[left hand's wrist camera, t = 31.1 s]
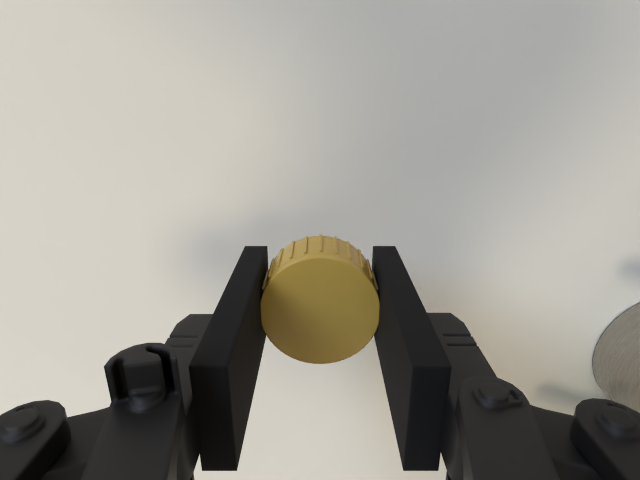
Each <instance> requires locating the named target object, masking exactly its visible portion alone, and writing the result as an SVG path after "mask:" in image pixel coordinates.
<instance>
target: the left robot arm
mask: <svg viewBox="0 0 640 480" xmlns="http://www.w3.org/2000/svg"><path fill="white" fill-rule="evenodd" d="M267 270H268V253H267V246H245V248H244V250H243V252H242V254H241V256H240V258H239V260H238V263H237V265H236V267H235V269H234V271H233V273H232V275H231V277H230V279H229V282H228V284H227V286H226V288H225V290H224V292H223V294H222V296H221V299H220V301H219V303H218V305H217V307H216V309H215V311H214V313H213V314H190V315H188V316H187V317H186V318H184V319H183V320H182V321H180V322H179V323H178V324H177V325H176V326H175V328H174V329H173V331H172V333H171V334H170V338H168V339H167V341H166V343H165V344H162V343H145V344H140V345H135V346H132V347H130V348H127V349H125V350H122V351H120V352H119V353H117V354H116V355H115V356H113V357H112V358H110V360H109V361H108V362H107V363H106V365H105V366H104V369H105V374H106V378H107V383H108V388H109V392H110V397H111V404H110V407H108V408H105V409H101V410H98V411H94V412H89V413H85V414H81V415H76V416H72V417H67V415H66V412H65V408H64V407H63V406H62V405H61V404H60V403H59V402H54V401H49V400H44V401H34V402H30V403H27V404H23V405H21V406H17V407H15V408H13V409H11V410H9V411H8V412H6V413H4V414H2V415H0V480H194V474H193V472H194V469H195V466H196V463H197V460H198V457H199V454H200V458H201V466H202V471H237V467H238V463H239V458H240V454H241V449H242V444H243V440H244V435H245V431H246V426H247V421H248V417H249V412H250V408H251V403H252V398H253V394H254V389H255V385H256V380H257V375H258V371H259V366H260V361H261V357H262V352H263V348H264V343H265V338H266V333H265V331H264V329H263V327H262V321H261V297H262V294H263V291H262V286H263V283H264V279H265V276H266V273H267ZM372 271H373V272H374V276H375V279H376V283H377V286H378V296H379V300H380V308H379V324H378V327H377V330H376V332H375V334H374V337H375V342H376V346H377V351H378V356H379V360H380V365H381V369H382V374H383V379H384V383H385V388H386V393H387V397H388V402H389V406H390V411H391V416H392V420H393V425H394V429H395V434H396V439H397V443H398V448H399V452H400V457H401V462H402V466H403V471H438V468H439V460H440V453H441V454H442V457H443V460H444V463H445V466H446V469H447V474H446V480H640V413H639V412H637V411H635V410H633V409H631V408H629V407H627V406H625V405H623V404H620V403H617V402H613V401H610V400H605V399H594V398H593V399H588V400H583V401H581V402H580V403H579V404H578V405H577V406H576V409H575V413H574V416H572V415H568V414H563V413H559V412H554V411H550V410H545V409H542V408H538V407H535V406H532V405H530V404H529V401H528V400H527V398H526V397H525V395H524V394H523V392H521V391H520V390H519V389H518V388H516V387H515V386H514V385H512V384H510V383H508V382H506V381H504V380H502V379H499V378H497V377H496V375H495V373H494V372H493V370H492V368H491V367H490V365H489V363H488V362H487V360H486V358H485V357H484V355H483V354H482V352H481V350H480V349H479V347H478V346H477V344H476V342H475V340H474V339H473V337H471V334H470V332H469V331H468V329H467V327H466V326H465V324H464V323H463V322H462V321H461V320H459V319H458V318H457V317H455V316H454V315H452V314H451V313H426V311H425V309H424V306H423V304H422V302H421V300H420V298H419V296H418V294H417V292H416V289H415V287H414V285H413V283H412V281H411V279H410V277H409V275H408V273H407V270H406V268H405V266H404V264H403V262H402V260H401V258H400V256H399V253H398V251H397V249H396V247H395V246H373V259H372Z"/></svg>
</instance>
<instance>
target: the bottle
mask: <svg viewBox="0 0 640 480" xmlns="http://www.w3.org/2000/svg"><path fill="white" fill-rule="evenodd" d="M593 371H594V375H595V378H596V380H597V382H598V384H599V386H600V387H601V388H602V389H603V390H604V392H605V393H606V394H607V395H608V396H609V397H610V398H611V399H612V400H613V401H614V402H617V403H620V404H623V405H625V406H627V407H629V408H631V409H633V410H635V411H637V412H639V413H640V303H639V304H637V305H635V306H633V307H631V308H630V309H628V310H627V311H625V312H624V313H622V314H621V315H620V316H619V317H617V318H616V319H615V320H614V321H613V322H612V323H611V324H610V325H609V326H608V328H607V329H606V330H605V331H604V333H603V334H602V336H601V337H600V339H599V341H598V343H597V345H596V348H595V351H594V356H593Z"/></svg>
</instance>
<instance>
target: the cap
mask: <svg viewBox="0 0 640 480" xmlns="http://www.w3.org/2000/svg"><path fill="white" fill-rule="evenodd" d="M262 291H263V294H262V297H261V321H262V327H263V329H264V331H265V333H266V335H267V337H268V338H269V340H270V341H271V342H272V343H273V344H274V345H275V346H276V347H277V348H278V349H279V350H280V351H282V352H283V353H285V354H286V355H288V356H290V357H292V358H294V359H297V360H299V361H303V362H307V363H314V364H325V363H333V362H338V361H341V360H344V359H346V358H348V357H351V356H352V355H354V354H356V353H357V352H359V351H360V350H361V349H363V348H364V347H365V346H366V345H367V344H368V342H369V341H370V340H371V338H372V337H373V335H374V334H375V332H376V330H377V327H378V324H379V308H380V300H379V296H378V286H377V283H376V279H375V276H374V272H373V271H371V267H370V264H369V261H368V259H367V260H366V259H365V258H364V256H363V255H362V254H361V251H360V250H359V249H358V250H357V249H356V248H355V247H353V246H352V245H350V244H349V242H348V241H347V242H345V241H342V240H340V239H337V238H336V237H327V236H322V235H319V236H313V237H308V236H306V237H305V238H303V239H300V240H298V241H296V242H294V241H292V244H290V245H288V246H287V247H286V248H284V249H281V250H280V253H279V254H278V255H277V256H276V258H275V259H274V258H273V259H272V262H271V266H270V269H269V270H267V273H266V276H265V279H264V283H263V286H262Z"/></svg>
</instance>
